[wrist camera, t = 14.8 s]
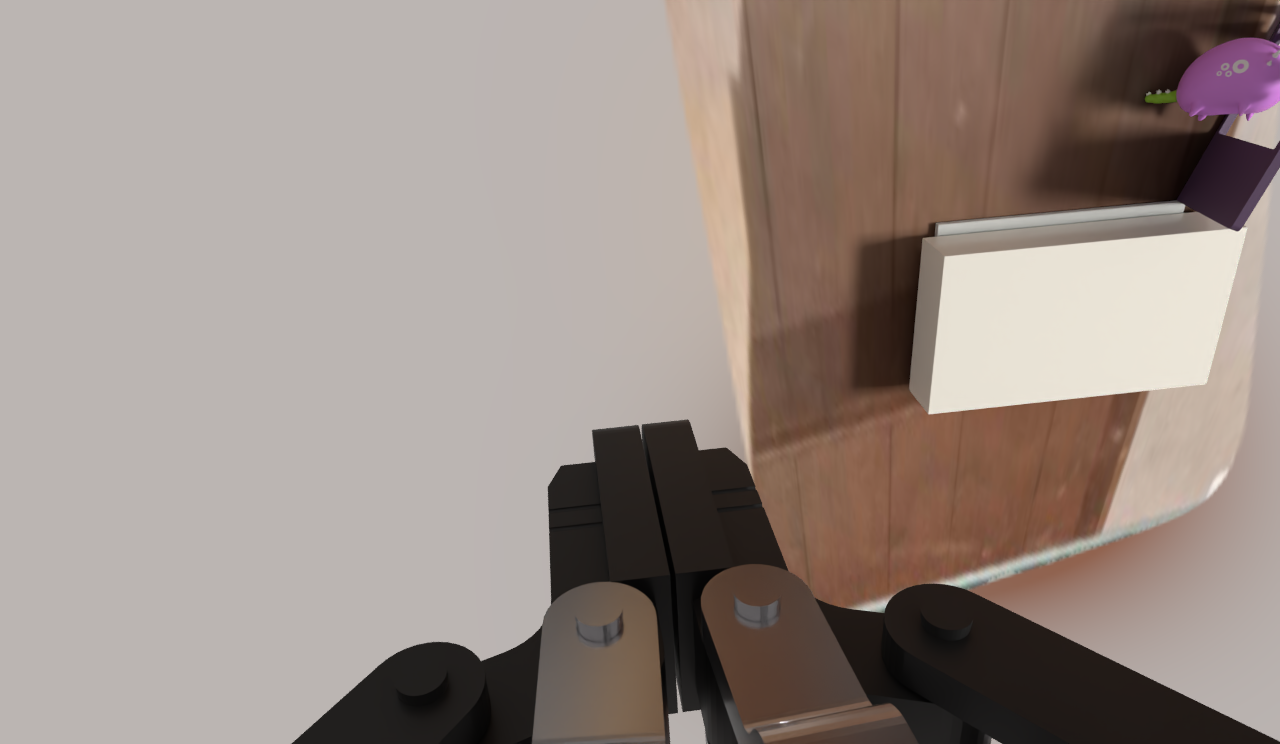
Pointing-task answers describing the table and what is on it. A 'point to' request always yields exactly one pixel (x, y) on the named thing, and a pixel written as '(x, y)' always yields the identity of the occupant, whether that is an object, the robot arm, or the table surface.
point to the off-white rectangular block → (1070, 310)
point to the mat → (1058, 218)
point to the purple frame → (1231, 86)
